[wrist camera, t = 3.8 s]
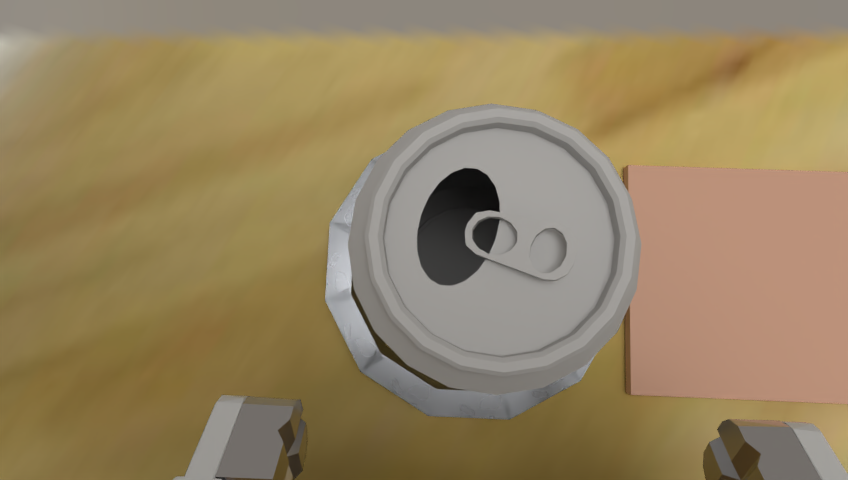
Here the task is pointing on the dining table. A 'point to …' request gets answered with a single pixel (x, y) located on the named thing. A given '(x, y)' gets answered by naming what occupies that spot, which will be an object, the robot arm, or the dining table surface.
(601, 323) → the can
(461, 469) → the dining table surface
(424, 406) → the ring
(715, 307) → the tile
